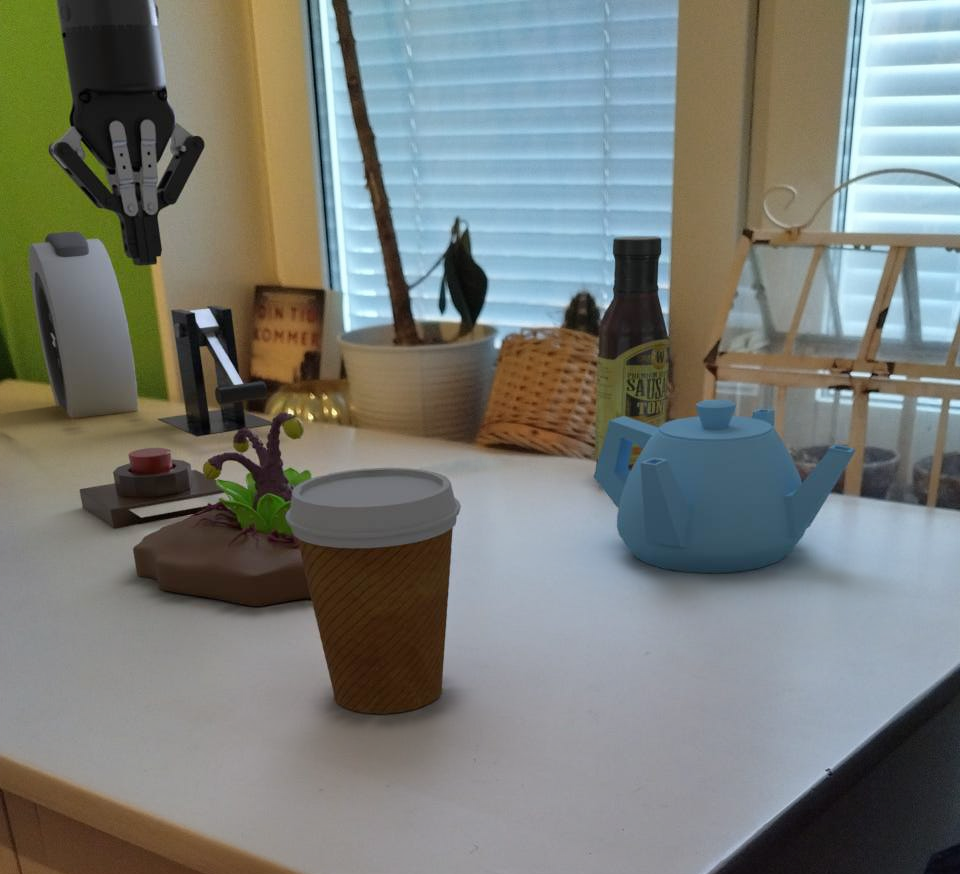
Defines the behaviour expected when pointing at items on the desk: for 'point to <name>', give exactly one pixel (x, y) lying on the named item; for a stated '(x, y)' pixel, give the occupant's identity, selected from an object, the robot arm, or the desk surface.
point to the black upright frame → (193, 380)
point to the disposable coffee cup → (378, 581)
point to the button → (150, 460)
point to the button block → (146, 494)
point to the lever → (225, 363)
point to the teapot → (712, 489)
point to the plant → (236, 532)
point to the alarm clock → (82, 326)
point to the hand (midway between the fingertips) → (144, 264)
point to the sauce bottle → (632, 343)
